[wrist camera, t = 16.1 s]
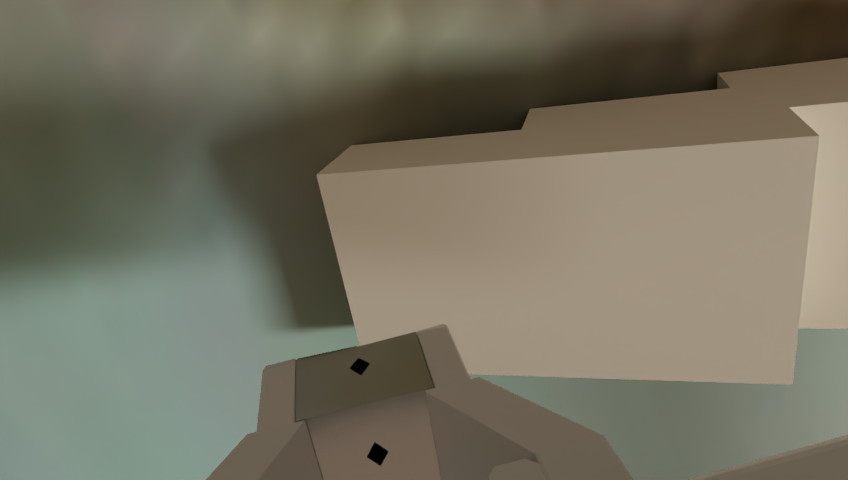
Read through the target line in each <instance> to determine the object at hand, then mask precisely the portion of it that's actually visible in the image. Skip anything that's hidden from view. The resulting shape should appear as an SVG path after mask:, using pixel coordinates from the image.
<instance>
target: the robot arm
mask: <svg viewBox="0 0 848 480" xmlns="http://www.w3.org/2000/svg"><path fill="white" fill-rule="evenodd" d="M206 480H633V478H632V477H631V475H630V474H629V472H628V471H627V469H626V468H625V466H624V465H623V464H622V462H621V461H620V459H619V458H618V456H617V455H616V453H615V452H614V450H613V449H612V447H611V446H610V444H609V443H608V441H607V440H606V438H605V437H604V436H603V435H601V434H599V433H597V432H595V431H592V430H590V429H588V428H586V427H584V426H582V425H580V424H578V423H575V422H573V421H571V420H569V419H567V418H565V417H563V416H561V415H558V414H556V413H554V412H552V411H550V410H548V409H546V408H544V407H542V406H539V405H537V404H535V403H533V402H531V401H529V400H527V399H525V398H522V397H520V396H518V395H516V394H514V393H512V392H510V391H508V390H505V389H503V388H501V387H499V386H497V385H495V384H493V383H491V382H488V381H486V380H484V379H482V378H480V377H478V378H474V379H470V376H469V374H468V372H467V369H466V367H465V365H464V363H463V360H462V358H461V356H460V353H459V351H458V349H457V347H456V344H455V342H454V340H453V338H452V335H451V333H450V331H449V328H448V326H447V325H445V324H441V325H437V326H434V327H430V328H426V329H423V330H419V331H416V332H412V333H408V334H405V335H401V336H397V337H393V338H389V339H385V340H382V341H378V342H374V343H370V344H366V345H362V346H359V347H357V346H354V347H350V348H345V349H340V350H335V351H331V352H326V353H321V354H317V355H312V356H307V357H303V358H298V359H297V360H296V359H292V360H288V361H284V362H280V363H276V364H272V365H268V366H266V367H265V368H264V370H263V374H262V384H261V394H260V404H259V413H258V423H257V432H254V433H250V434H247V435H246V436H245V437H244V438H243V440H242V441H241V442H240V443H239V444H238V445H237V446H236V447H235V448H234V449H233V451H232V452H231V453H230V454H229V455H228V456H227V457H226V458H225V459H224V460H223V462H222V463H221V464H220V465H219V466H218V467H217V468H216V469H215V470H214V471H213V472H212V474H211V475H210V476H209V477H208V478H207V479H206ZM688 480H848V435H846V436H842V437H839V438H835V439H831V440H828V441H824V442H821V443H817V444H813V445H810V446H806V447H803V448H799V449H795V450H792V451H788V452H785V453H781V454H777V455H774V456H770V457H766V458H763V459H759V460H756V461H752V462H749V463H745V464H742V465H738V466H735V467H731V468H728V469H724V470H720V471H717V472H713V473H709V474H706V475H702V476H699V477H695V478H691V479H688Z"/></svg>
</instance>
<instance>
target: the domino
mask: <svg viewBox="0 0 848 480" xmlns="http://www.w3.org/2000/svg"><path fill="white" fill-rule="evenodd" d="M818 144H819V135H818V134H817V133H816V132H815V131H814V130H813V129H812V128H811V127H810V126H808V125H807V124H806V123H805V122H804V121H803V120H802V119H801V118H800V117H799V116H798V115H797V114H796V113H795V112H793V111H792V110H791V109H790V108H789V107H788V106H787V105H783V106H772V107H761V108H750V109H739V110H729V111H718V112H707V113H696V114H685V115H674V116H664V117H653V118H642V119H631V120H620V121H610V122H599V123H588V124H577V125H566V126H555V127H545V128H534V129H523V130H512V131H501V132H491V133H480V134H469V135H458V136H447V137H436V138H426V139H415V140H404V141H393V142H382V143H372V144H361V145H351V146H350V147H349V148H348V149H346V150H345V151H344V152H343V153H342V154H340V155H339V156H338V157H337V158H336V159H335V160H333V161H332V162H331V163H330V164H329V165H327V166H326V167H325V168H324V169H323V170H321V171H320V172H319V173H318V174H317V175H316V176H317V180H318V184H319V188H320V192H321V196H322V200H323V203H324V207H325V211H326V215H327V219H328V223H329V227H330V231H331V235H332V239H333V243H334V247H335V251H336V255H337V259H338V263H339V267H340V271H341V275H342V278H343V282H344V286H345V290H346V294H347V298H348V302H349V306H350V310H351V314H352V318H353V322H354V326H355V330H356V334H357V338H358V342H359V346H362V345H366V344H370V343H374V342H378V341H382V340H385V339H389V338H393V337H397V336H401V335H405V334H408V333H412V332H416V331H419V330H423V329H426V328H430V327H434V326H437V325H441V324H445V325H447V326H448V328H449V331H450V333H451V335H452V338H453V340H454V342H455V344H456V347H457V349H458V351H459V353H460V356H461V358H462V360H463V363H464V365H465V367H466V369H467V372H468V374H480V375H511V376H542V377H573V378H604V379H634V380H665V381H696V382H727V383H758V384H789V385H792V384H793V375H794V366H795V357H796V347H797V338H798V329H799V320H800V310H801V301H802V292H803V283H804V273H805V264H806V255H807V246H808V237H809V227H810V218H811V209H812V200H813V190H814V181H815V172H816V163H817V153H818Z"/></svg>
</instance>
